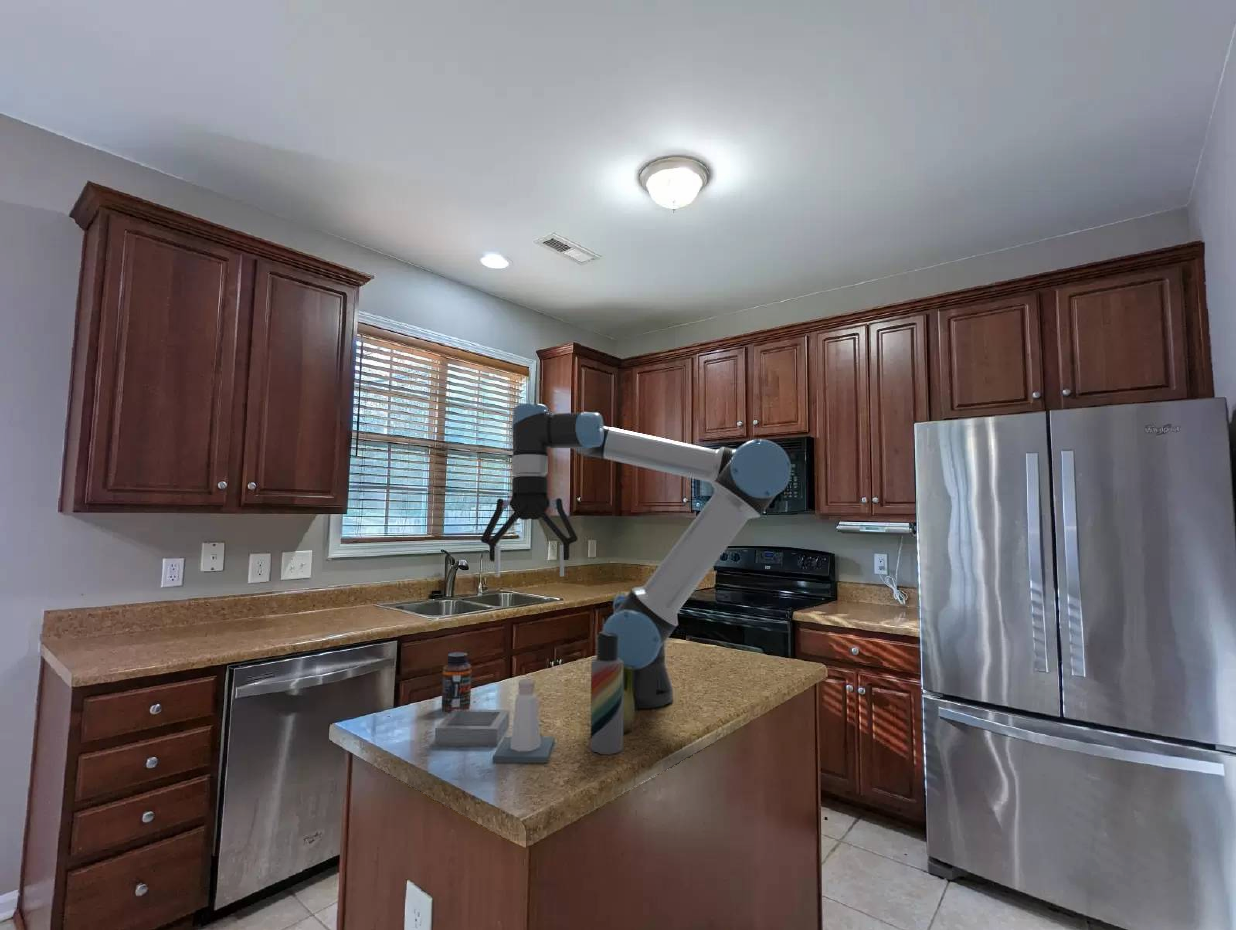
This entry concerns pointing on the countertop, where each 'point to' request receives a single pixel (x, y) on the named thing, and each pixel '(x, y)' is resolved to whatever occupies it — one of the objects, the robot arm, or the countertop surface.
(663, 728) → the countertop surface
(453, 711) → the gray square tray
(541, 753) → the mat
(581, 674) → the countertop surface
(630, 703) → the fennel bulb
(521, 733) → the salt shaker
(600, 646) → the lotion bottle
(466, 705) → the supplement bottle
